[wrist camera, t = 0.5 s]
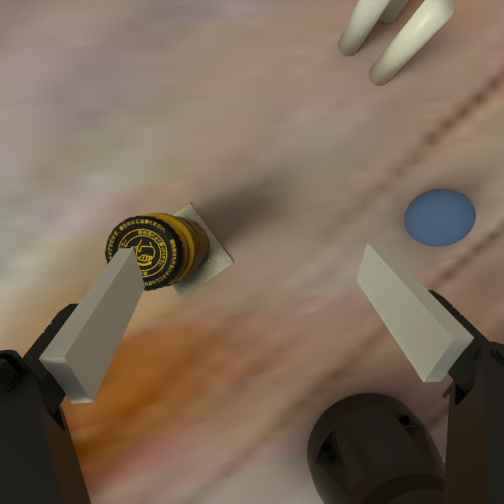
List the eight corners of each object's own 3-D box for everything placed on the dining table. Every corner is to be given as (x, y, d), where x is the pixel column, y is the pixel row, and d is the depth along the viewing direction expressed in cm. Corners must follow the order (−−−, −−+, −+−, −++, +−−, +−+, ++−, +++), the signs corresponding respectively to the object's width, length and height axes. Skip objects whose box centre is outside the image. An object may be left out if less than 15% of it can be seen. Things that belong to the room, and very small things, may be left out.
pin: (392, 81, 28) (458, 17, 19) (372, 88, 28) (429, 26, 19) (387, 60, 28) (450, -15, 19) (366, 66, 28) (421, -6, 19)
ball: (447, 235, 30) (499, 237, 24) (400, 251, 30) (440, 256, 24) (435, 187, 29) (485, 175, 23) (387, 203, 29) (424, 196, 23)
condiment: (190, 202, 28) (152, 182, 16) (233, 262, 29) (228, 285, 17) (138, 240, 28) (63, 247, 16) (183, 298, 29) (143, 345, 17)
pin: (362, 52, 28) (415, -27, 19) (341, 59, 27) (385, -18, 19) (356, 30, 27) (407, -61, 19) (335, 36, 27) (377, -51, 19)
